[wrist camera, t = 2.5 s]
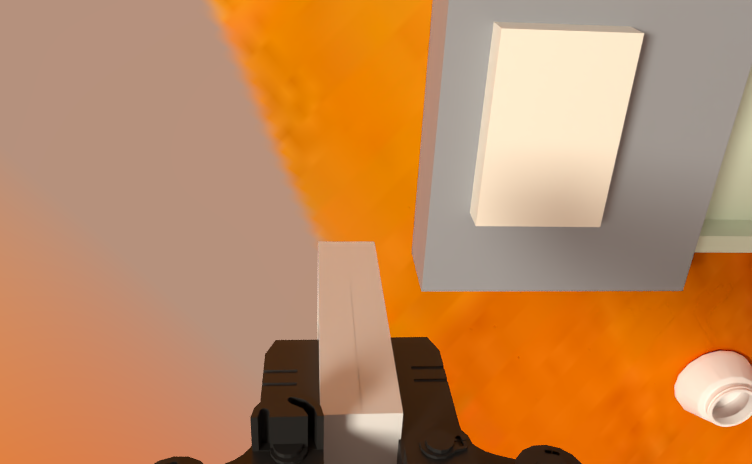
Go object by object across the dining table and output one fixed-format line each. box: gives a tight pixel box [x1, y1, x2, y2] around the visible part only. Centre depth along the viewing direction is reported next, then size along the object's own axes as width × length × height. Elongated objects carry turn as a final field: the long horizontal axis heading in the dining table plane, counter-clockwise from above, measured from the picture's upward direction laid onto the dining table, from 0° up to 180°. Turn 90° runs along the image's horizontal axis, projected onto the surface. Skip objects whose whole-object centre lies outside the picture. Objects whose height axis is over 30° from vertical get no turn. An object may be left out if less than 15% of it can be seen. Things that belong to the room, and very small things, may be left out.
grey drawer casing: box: [412, 0, 752, 291], centre depth 33 cm, size 18×14×4 cm
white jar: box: [674, 351, 752, 427], centre depth 43 cm, size 5×3×5 cm
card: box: [470, 22, 644, 227], centre depth 30 cm, size 9×6×1 cm, turn 177°
